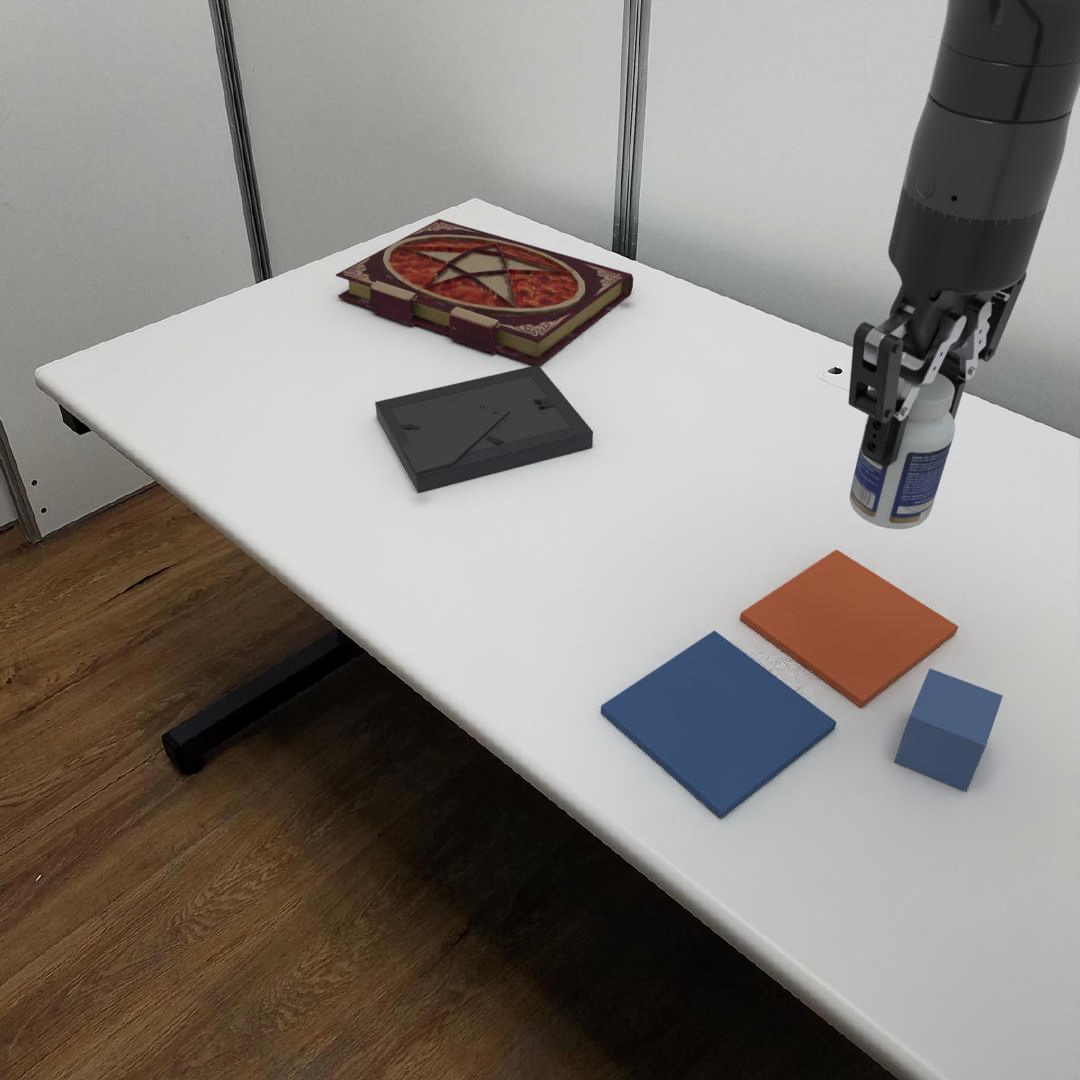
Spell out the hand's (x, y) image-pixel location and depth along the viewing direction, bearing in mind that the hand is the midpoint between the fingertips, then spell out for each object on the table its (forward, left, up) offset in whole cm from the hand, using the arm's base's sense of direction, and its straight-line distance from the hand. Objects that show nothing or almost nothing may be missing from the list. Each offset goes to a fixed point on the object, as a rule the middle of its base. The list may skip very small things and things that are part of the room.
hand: (906, 440), depth 68 cm
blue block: (-10, +2, -21) cm, 23 cm away
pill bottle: (0, 0, -6) cm, 6 cm away
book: (+64, -14, -21) cm, 69 cm away
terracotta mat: (+2, -3, -21) cm, 21 cm away
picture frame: (+42, +3, -21) cm, 47 cm away
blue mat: (+2, +12, -21) cm, 24 cm away
